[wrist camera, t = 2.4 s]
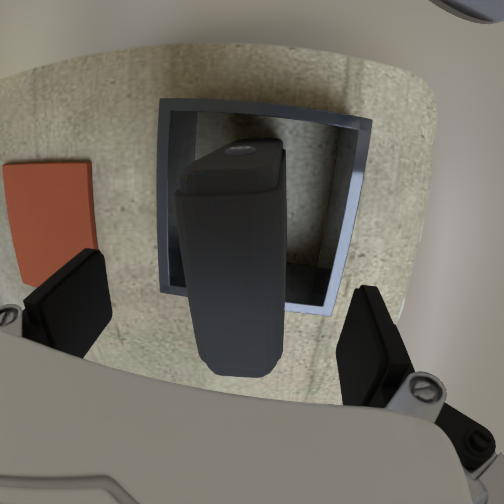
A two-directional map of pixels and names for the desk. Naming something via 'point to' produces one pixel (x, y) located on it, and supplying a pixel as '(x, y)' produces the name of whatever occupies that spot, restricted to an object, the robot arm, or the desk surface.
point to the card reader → (236, 254)
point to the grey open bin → (339, 211)
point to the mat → (49, 215)
